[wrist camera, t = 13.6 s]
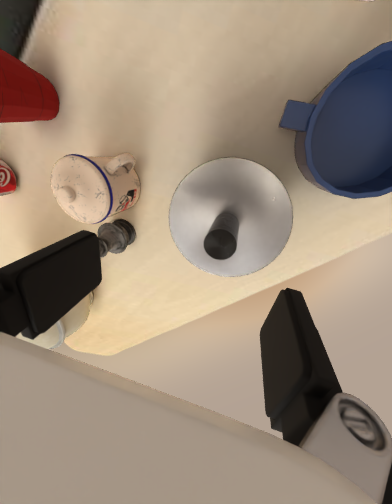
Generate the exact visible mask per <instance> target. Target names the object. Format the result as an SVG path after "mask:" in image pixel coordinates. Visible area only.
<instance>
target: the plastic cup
mask: <svg viewBox="0 0 392 504" xmlns="http://www.w3.org/2000/svg"><path fill="white" fill-rule="evenodd" d="M58 111H59V100H58V95H57V92H56V90H55V88H54V86H53V85H52V84H51V83H50V81H49V80H48V79H46V78H45V77H44V76H43V75H41V74H40V73H38V72H36V71H35V70H33V69H31V68H30V67H28V66H27V65H26V64H25V63H23V62H21V61H20V60H18V59H16V58H15V57H13V56H11V55H10V54H8V53H6V52H5V51H3V50H1V49H0V123H6V122H29V121H39V120H52V119H53V118H55V117H56V115H57V113H58Z"/></svg>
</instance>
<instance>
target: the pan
mask: <svg viewBox="0 0 392 504" xmlns="http://www.w3.org/2000/svg"><path fill="white" fill-rule="evenodd" d="M279 128H283V129H289V130H294V131H297V133H296V138H295V158H296V162H297V165H298V168H299V169H300V171H301V173H302V174H303V176H304V177H305V178H306V179H307V180H308V181H309V182H311V183H312V184H314V185H315V186H317V187H318V188H320V189H322V190H325V191H327V192H330V193H332V194H335V195H340V196H344V197H349V198H353V199H357V198H367V197H378V196H381V195H384V194H387V193H389V192H392V41H390V42H387V43H383V44H381V45H379V46H377V47H376V48H374V49H373V50H371V51H369V52H368V53H366V54H365V55H363V56H361V57H360V58H358V59H357V60H355V61H353V62H352V63H350V64H349V65H348V66H347V67H346V68H345V69H344V70H343V71H342V72H341V73H339V74H338V75H337V76H336V77H335V78H334V79H333V80H332V81H331V82H330V83H329V84H328V85H327V86H326V87H325V88H324V89H323V90H322V91H321V92H320V93H319V94H318V95H317V96H316V97H315V99H314V100H313V101H312V102H311V103H305V102H299V101H293V100H288V101H287V103H286V106H285V109H284V112H283V115H282V118H281V121H280V124H279Z"/></svg>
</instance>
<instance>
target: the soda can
mask: <svg viewBox="0 0 392 504" xmlns="http://www.w3.org/2000/svg"><path fill="white" fill-rule="evenodd" d="M16 183H17V181H16V176H15V174H14V172H13V171H12V169H11V168H10V167H9V166H8V165H7V164H6V163H5V162H4V161H2V160H1V159H0V196H2V195H6V194H10V193H13V192H14V191H15V189H16Z"/></svg>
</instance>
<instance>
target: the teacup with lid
mask: <svg viewBox="0 0 392 504" xmlns="http://www.w3.org/2000/svg"><path fill="white" fill-rule="evenodd" d="M134 166H135V159H134V157H133V156H132V155H131V154H129V153H122V154H120V155H118V156H116V157H84V156H82V155H77V154H71V155H66V156H64V157H62V158H61V159H59V160H58V161H57V162H56V163H55V165H54V167H53V169H52V172H51V187H52V191H53V194H54V196H55V198H56V200H57V202H58V204H59V205H60V206H61V208H62V209H63V210H64V211H65V212H66V213H67V214H68V215H69V216H71V217H72V218H74V219H75V220H77V221H80V222H83V223H88V224H95V223H99V222H102V221H103V220H105V219H106V218H107V217H109V216H112V215H114V214H116V213H119V212H121V211H124V210H126V209H128V208H130V207H132V206H133V205H134V204H135V203H136V202H137V200H138V198H139V195H140V182H139V179H138V176H137V174H136V172H135V171H134V169H133V167H134Z"/></svg>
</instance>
